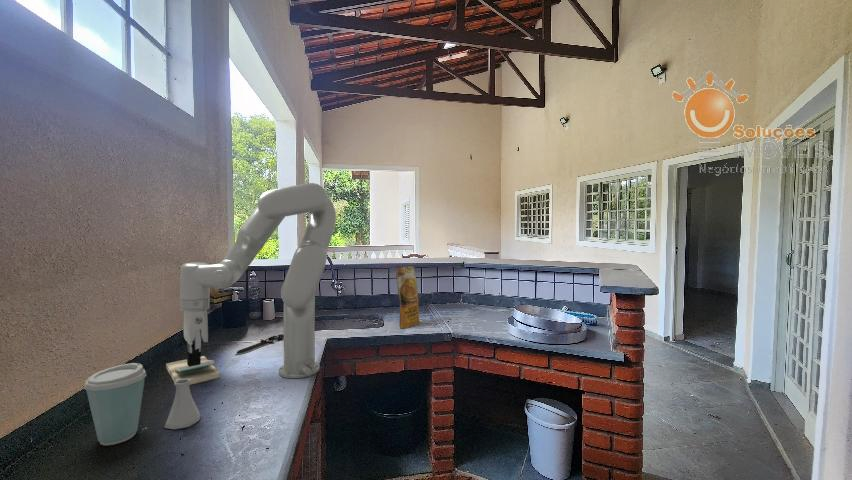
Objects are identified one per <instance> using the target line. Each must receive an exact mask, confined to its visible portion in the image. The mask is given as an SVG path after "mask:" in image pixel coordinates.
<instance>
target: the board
mask: <svg viewBox="0 0 852 480" xmlns="http://www.w3.org/2000/svg"><path fill="white" fill-rule="evenodd" d="M207 360H209V359H207V357H206V356H205V355H201V362H202V361H207ZM183 365H187V358H186V359H182V360H176V361H172V362H168V363H165V368H166V370H167V372H168V374H169V376H170V377H171V379H172V381H173V382H174V383H175V381H177V380H180V379H186V378H187V379H191V380H190V383H189V386H191V385H195V384H201V383H203V382H208V381H212V380H216V379H220V378H221V373H220V371H219V370H218V369H217V368H216V367H215V366H214V365H209V366H205V367H200V368H195V369H191V370H186V371H181V372H178V371H175V367H178V366H183ZM174 383H173V384H174Z"/></svg>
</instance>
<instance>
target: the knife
mask: <svg viewBox="0 0 852 480" xmlns="http://www.w3.org/2000/svg"><path fill="white" fill-rule="evenodd" d="M268 340H269V341H268ZM282 340H283V341H284V333H282V334H278V335H273V336H269V337H268V338H266V339H260V342H258V343H255V344H253V345H250V346H246V347H245V348H242V349H239V350H237V351H236V353H235V354H234V356H238V355H244V354H247V353H250V352H252V351H255V350H257V349H260V348H262V347H265V346H267V345H273V344H275V341H277V342H280V341H282Z"/></svg>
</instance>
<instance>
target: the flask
mask: <svg viewBox="0 0 852 480" xmlns="http://www.w3.org/2000/svg"><path fill="white" fill-rule="evenodd" d="M190 380H191V379H187V378H186V379H180V380H177V381H175V383H173V384H174V387H175V394H174V398H173V402H172V405H171V409H170V411H169V413H168V417H167V419H166V422H165V424H164V427H163V428H164V429H170V430H179V429H185V428H190V427H191V426H193V425H195V424H197V422H199V421H200V419H201V416H202V415H201V413H200V410H199V409H198V406H197V405H196V403H195V402H196V401H194V398H193V397H192V394H191V389H190V385H189V383H190Z"/></svg>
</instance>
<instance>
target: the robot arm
mask: <svg viewBox="0 0 852 480" xmlns="http://www.w3.org/2000/svg"><path fill="white" fill-rule="evenodd" d="M335 208H336V207H335V206H334V204H333V202H332V200H331V199H330V197H329V196H328V193H327V192H326V190H325V188H324V187H323V186H322V185H320V184H318V183H314V182H308V183H301V184H296V185H291V186H286V187H279V188H273V189H267V190H266V191H264V192H262V193H261V194H260V196H259V197H258V199H257V205H256V207H255V208H254V209H253V211H252V212H251V213H250V215H249V216H248V217H247V219H246V220H245V221H244V223H243V224H242V225H241V226H240V228H239V230H238V232H237V235H236V239H235V242H234V244H233V246H232V247H231V249H230V250H229V251H228V253H227V254H226V255H225V257H224V258H223V260H222V261H221V262H219V263H214V264H209V263H207V262H199V261H198V262H197V261H196V262H194V261H193V262H187V263H183V264H182V265H181V267H180V285H179V288H180V289H179V290H180V295H179V296H180V299H179V310H180V311H181V312H183V338H184V341H186V342H187V355H186V359H187V365H188V366H195V365H200V364H201V356H202V354H201V353H202V351H201V350H202V341H203V342H204V343H205V344H206V343H208V342H209V326H208V325H209V323H208V321H209V320H208V319H209V318H208V311H207V310H208V309H210V305H211V304H210V300H211V298H210V296H211V295H210V294H211V288H212V289H226V288H229V287H230V286H232V285H233V284H234V283H237V282H238V280H239V279H240V278H241V277H242V276H243V275H244V273H245V272H246V270H247V269H248V268H249V266H250V265H251V264H252V262H253V261H254V260H255V258H256V257H257V255H258V254H259V253H260V251H261V250H262V249H263V248H264V246H265V245H266V244H267V242H268V241H269V240H270V238H271V237H272V235H273V234H274V233H275V231H276V229H277V228H278V227H279V226H280V225H281V223H282V222H283V221H284V219H285V218H286V217H291V216H296V215H301V214H306V213H308V222H307V224H306V227H305V231H304V233H303V236H302V238H301V241H300V244H299V245H298V247H297V249H296V250H295V251H294V254H293V256H292V259H291V262H290V264H289V267H288V269H287V272H286V273H287V274H286V276H285V278H284V280H283V284H282V286H281V289H280V297H281V300H282V302H283V335H284V338H283V365H281V366H280V367H279V368H278V375H279V376H280V377H282V378H286V379H302V378H306V377H310V376H314V375H315V374H316V373H318V372H320V369H321V366H320V364H319V363H318V362H317V361H315V360H316V358H315V357H316V352H315V350H316V346H315V345H316V343H315V342H316V328H315V327H316V324H315V323H316V318H315V317H316V297H315V296H316V293H317V289H318V288H319V284H320V281H321V279H322V275H323V273H324V271H325V266H326V263H327V253H328V250H329V246H330V244H331V241H332V237H333V234H334V231H335V227H336V224H337V223H336V221H337V213H336V209H335Z"/></svg>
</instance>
